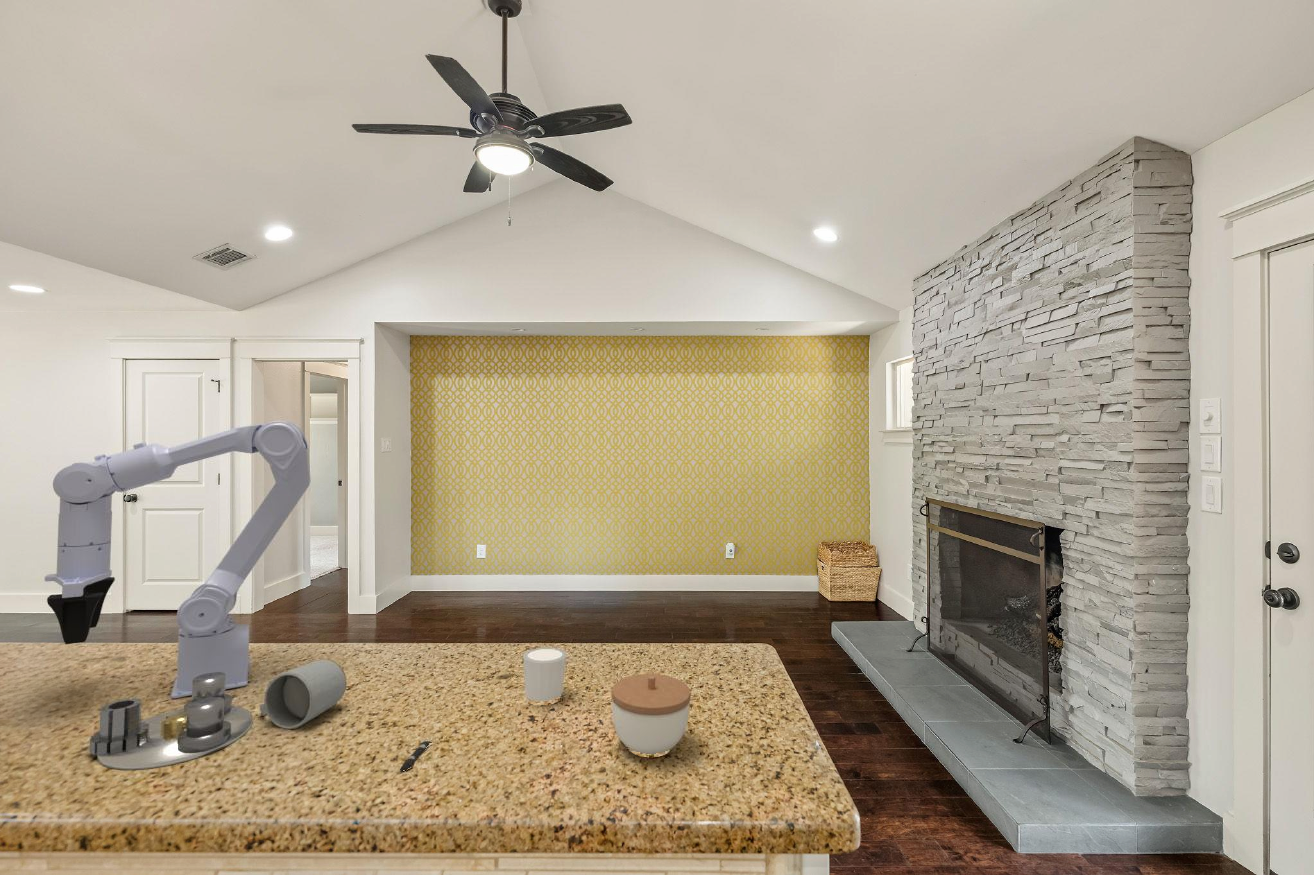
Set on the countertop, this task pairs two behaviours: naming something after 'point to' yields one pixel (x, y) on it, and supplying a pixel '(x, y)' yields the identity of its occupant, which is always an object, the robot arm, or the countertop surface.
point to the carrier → (188, 729)
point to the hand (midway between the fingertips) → (81, 635)
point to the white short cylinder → (544, 673)
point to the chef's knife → (415, 755)
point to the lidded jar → (650, 712)
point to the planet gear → (119, 728)
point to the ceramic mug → (303, 693)
